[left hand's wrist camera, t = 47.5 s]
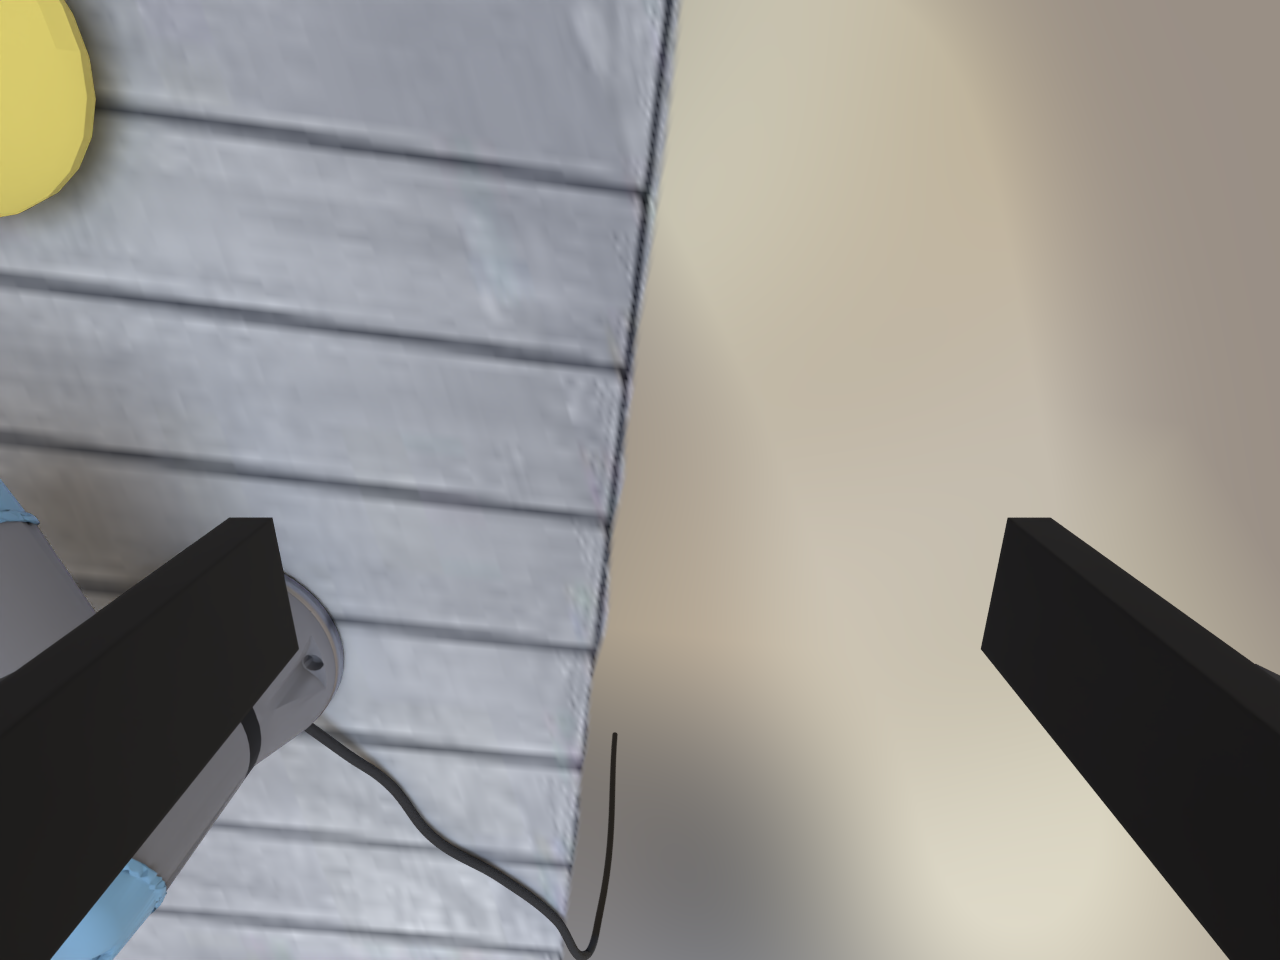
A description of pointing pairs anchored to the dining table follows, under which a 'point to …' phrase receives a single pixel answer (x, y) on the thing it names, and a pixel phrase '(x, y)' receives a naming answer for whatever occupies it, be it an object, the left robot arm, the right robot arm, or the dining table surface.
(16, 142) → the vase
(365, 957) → the dining table surface
